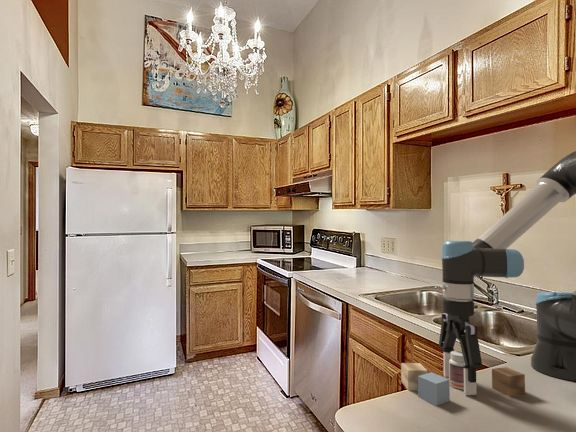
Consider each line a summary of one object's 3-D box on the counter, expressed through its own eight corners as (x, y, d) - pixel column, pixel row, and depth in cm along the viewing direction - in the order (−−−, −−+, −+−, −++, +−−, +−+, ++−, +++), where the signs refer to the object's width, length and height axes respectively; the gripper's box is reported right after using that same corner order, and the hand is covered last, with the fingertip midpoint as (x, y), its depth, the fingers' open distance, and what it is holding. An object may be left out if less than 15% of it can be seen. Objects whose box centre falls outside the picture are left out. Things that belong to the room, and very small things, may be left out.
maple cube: (419, 382, 92) (419, 363, 93) (427, 390, 87) (427, 370, 88) (401, 382, 92) (401, 363, 92) (408, 390, 87) (408, 370, 87)
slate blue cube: (431, 392, 86) (431, 372, 87) (449, 400, 82) (449, 379, 82) (418, 397, 84) (418, 376, 84) (436, 406, 79) (436, 383, 80)
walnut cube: (507, 386, 90) (506, 367, 91) (525, 395, 86) (524, 374, 86) (492, 388, 89) (491, 368, 89) (509, 397, 84) (509, 376, 85)
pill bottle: (472, 391, 87) (471, 357, 88) (452, 389, 88) (451, 355, 89) (466, 383, 92) (466, 351, 92) (447, 381, 93) (447, 349, 93)
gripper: (425, 291, 102) (426, 368, 101) (467, 307, 80) (468, 406, 79) (450, 292, 103) (451, 368, 101) (498, 307, 80) (500, 406, 79)
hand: (459, 384), depth 90 cm, fingers open, 10 cm apart
